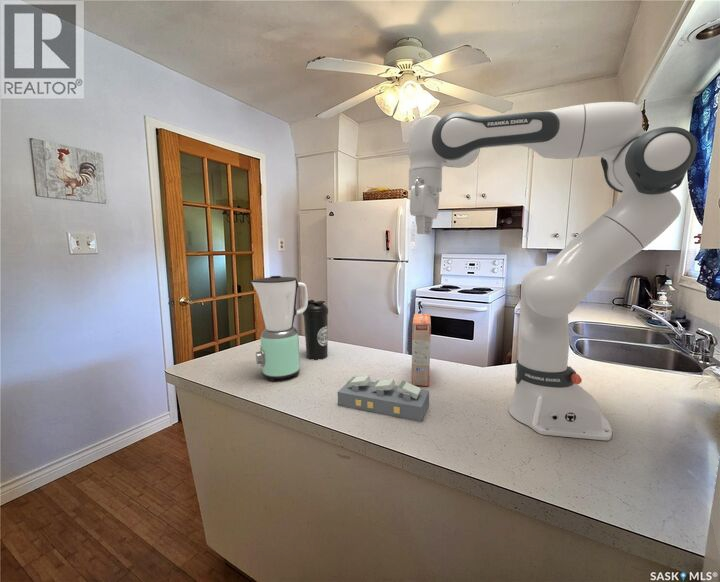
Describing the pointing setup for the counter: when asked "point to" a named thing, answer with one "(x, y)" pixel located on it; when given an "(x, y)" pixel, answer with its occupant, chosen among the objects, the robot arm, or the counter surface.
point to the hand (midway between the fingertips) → (424, 234)
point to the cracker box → (421, 349)
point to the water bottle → (316, 330)
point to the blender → (279, 326)
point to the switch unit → (384, 401)
